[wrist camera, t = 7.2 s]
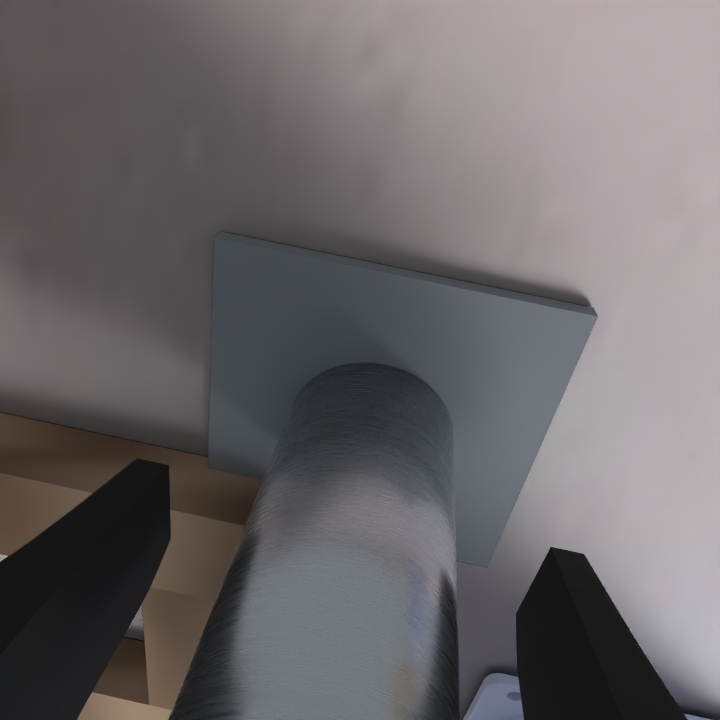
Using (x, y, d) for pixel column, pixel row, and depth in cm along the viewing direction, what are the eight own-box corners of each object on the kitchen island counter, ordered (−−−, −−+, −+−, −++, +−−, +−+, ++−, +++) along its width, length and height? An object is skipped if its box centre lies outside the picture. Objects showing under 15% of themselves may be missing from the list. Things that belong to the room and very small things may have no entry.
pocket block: (284, 473, 15) (264, 530, 14) (254, 712, 22) (238, 769, 21) (-173, 375, 16) (-248, 419, 14) (-63, 641, 23) (-104, 692, 21)
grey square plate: (593, 307, 12) (597, 316, 11) (485, 556, 16) (486, 567, 16) (220, 231, 12) (213, 237, 12) (211, 496, 16) (206, 507, 16)
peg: (479, 393, 13) (519, 820, 6) (421, 510, 15) (402, 925, 8) (309, 340, 13) (151, 715, 6) (275, 467, 15) (129, 851, 8)
